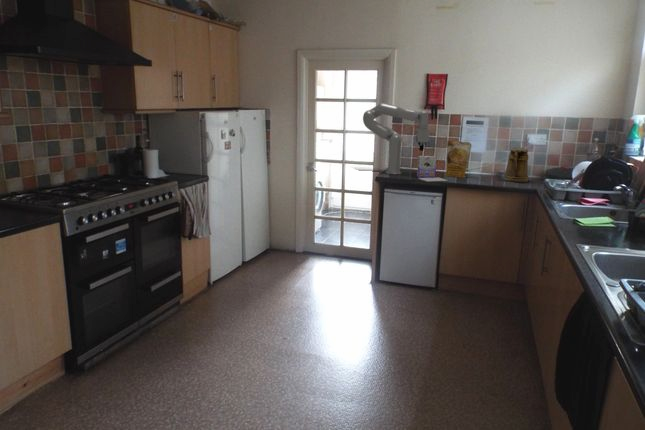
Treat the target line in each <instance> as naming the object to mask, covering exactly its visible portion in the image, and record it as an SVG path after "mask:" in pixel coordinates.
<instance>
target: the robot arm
mask: <svg viewBox="0 0 645 430" xmlns="http://www.w3.org/2000/svg"><path fill="white" fill-rule="evenodd" d="M383 115H385V116H389V117H394V118H396V119H397V118H399V119H403V120H406V121H411V122H415V121H418V123H417V125H416V128H417V129H416V133H415V142H414V143H415V144H417V145H418V146H419V147H418V148H419V151H420V152H421V151H422V152H423V151H424V149H425V145H426V144H428V143H429V141H430V130H429V129H428V127H429V112H428V111H426V110H424V111H416V110H410V109H407V108H402V107H400V106H398V105H393V104H388V103H385V102H379V103H378V104H377V105H375V106H374V107H372V108H371V109H368V110H366V111H365V112H364V113H363V116H362V122H363V124H364V126H365V127H366V128H367V129H368V130H369V131H371V132H372V133H373V134H375V135H376V136H378V137H379V138H380V139H383V140H386V141H387V142H388V158H387V159H388V160H387V161H388V162H387V170H386V171H385V174H387V175H401V174H402V171H400V170H401V169H400V168H401V154H402V141H403V136H402V135H401V134H400V133H398V132H397V131H395V130H394V129H392V128H390V127H388V126H384V125H382V124H381V123H379V122H377V121H376V120H375V119H377V118H379V117H381V116H383Z"/></svg>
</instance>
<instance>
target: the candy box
mask: <svg viewBox="0 0 645 430" xmlns="http://www.w3.org/2000/svg"><path fill="white" fill-rule="evenodd" d="M436 175H437V156H436V155H418V156H417V174H416V177H417V178H437V177H436Z"/></svg>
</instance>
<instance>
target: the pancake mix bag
mask: <svg viewBox="0 0 645 430" xmlns="http://www.w3.org/2000/svg"><path fill="white" fill-rule="evenodd" d="M471 149H472V143H471V142H469V141H458V140H447V142H446V171H445V176H447V177H450V178H457V179H463V178H466V171H467V166H468V164H469V158H470V156H471V155H470V154H471Z"/></svg>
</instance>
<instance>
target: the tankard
mask: <svg viewBox="0 0 645 430" xmlns="http://www.w3.org/2000/svg"><path fill="white" fill-rule="evenodd" d="M528 152H529V150H528V149H527V148H525V147H524V148H523V147H513V148H511V149H510V152H509V155H508V162H507V165H506V170H505V174H504V175H503V181H506V182H512V183H527V182H528V181H529V178H530V177H529V174H528V171H529V169H528V164H529V163H528V161H529V154H528Z"/></svg>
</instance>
